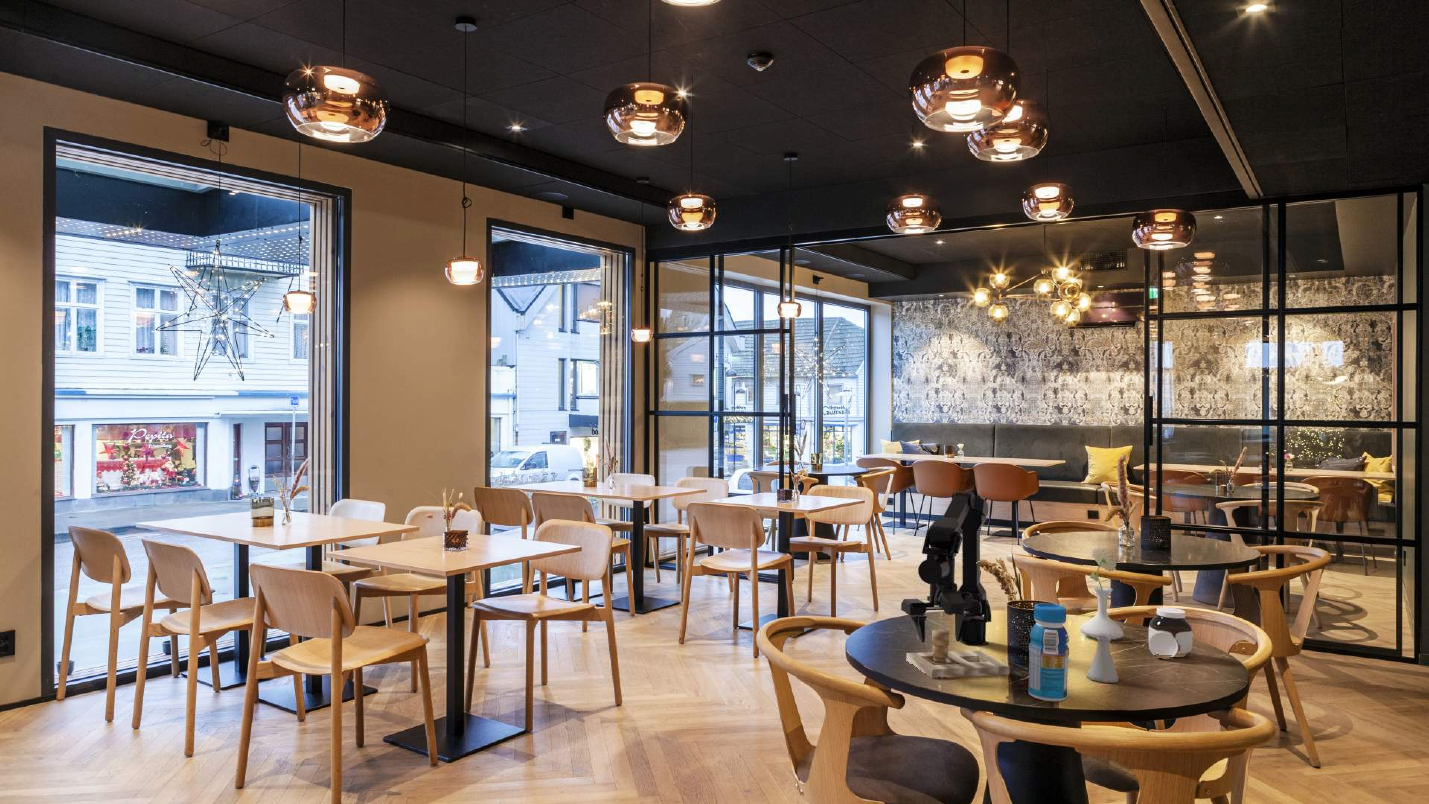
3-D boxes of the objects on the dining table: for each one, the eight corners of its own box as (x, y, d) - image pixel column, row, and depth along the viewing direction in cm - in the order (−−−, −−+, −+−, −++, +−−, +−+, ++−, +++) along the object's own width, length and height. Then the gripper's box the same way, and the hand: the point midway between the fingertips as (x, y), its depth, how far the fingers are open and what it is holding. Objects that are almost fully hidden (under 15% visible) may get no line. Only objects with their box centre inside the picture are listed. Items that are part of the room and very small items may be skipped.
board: (979, 658, 235) (979, 649, 235) (1009, 674, 222) (1009, 665, 222) (906, 661, 231) (906, 652, 231) (931, 678, 217) (932, 668, 217)
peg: (943, 665, 228) (944, 629, 228) (951, 670, 224) (952, 633, 224) (928, 666, 227) (929, 629, 227) (935, 671, 223) (936, 633, 223)
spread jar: (1183, 651, 248) (1185, 608, 248) (1201, 663, 237) (1203, 617, 237) (1137, 649, 249) (1138, 605, 249) (1152, 660, 238) (1154, 615, 238)
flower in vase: (1130, 643, 255) (1133, 552, 254) (1089, 642, 255) (1091, 551, 255) (1111, 631, 268) (1113, 544, 267) (1071, 630, 268) (1073, 543, 268)
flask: (1122, 685, 216) (1123, 642, 216) (1089, 682, 218) (1090, 639, 218) (1115, 676, 223) (1116, 634, 223) (1083, 673, 225) (1084, 632, 225)
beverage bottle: (1019, 694, 207) (1022, 604, 207) (1042, 688, 212) (1045, 600, 212) (1052, 705, 200) (1055, 612, 200) (1075, 698, 205) (1078, 608, 205)
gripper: (921, 584, 215) (919, 652, 215) (994, 583, 219) (992, 649, 219) (901, 575, 226) (899, 639, 226) (971, 574, 230) (969, 637, 230)
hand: (940, 641), depth 225 cm, fingers open, 9 cm apart
